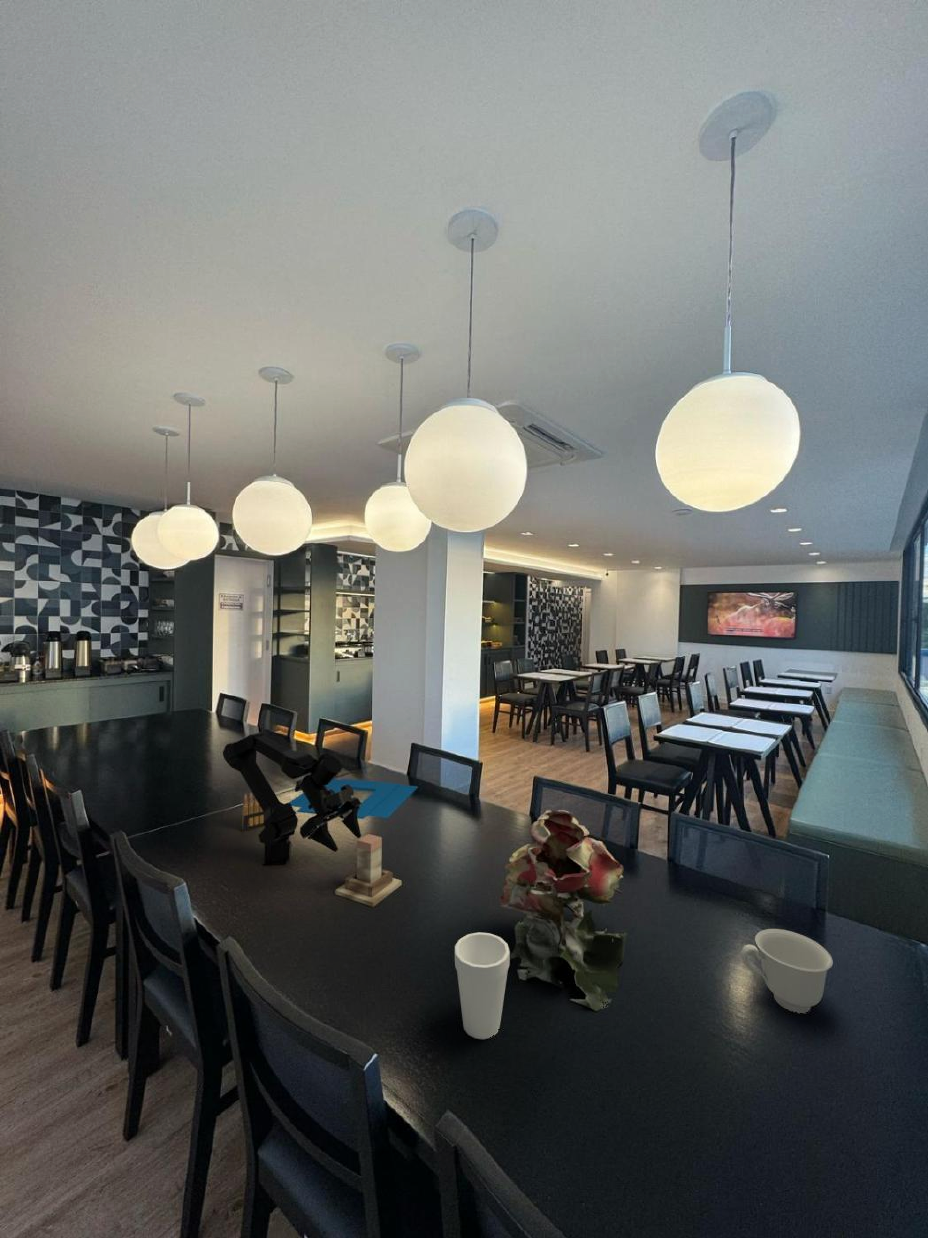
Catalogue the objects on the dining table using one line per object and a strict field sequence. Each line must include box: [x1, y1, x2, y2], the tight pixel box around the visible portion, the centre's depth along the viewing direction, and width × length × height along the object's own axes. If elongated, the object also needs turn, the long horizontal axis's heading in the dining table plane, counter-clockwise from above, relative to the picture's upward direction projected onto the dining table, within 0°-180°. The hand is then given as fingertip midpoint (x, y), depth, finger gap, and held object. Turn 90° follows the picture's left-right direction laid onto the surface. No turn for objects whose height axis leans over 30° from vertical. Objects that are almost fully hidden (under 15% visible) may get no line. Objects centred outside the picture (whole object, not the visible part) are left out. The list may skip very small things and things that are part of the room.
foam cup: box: [454, 931, 511, 1040], centre depth 89 cm, size 10×9×13 cm
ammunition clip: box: [240, 787, 275, 832], centre depth 171 cm, size 11×2×12 cm, turn 131°
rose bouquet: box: [499, 809, 628, 1012], centre depth 108 cm, size 26×29×30 cm
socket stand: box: [334, 868, 403, 908], centre depth 132 cm, size 12×12×4 cm
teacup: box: [740, 928, 834, 1014], centre depth 95 cm, size 12×15×10 cm
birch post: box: [356, 833, 383, 884], centre depth 132 cm, size 4×4×12 cm
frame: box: [288, 778, 419, 820], centre depth 199 cm, size 42×36×2 cm
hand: (348, 844), depth 135 cm, fingers open, 9 cm apart
